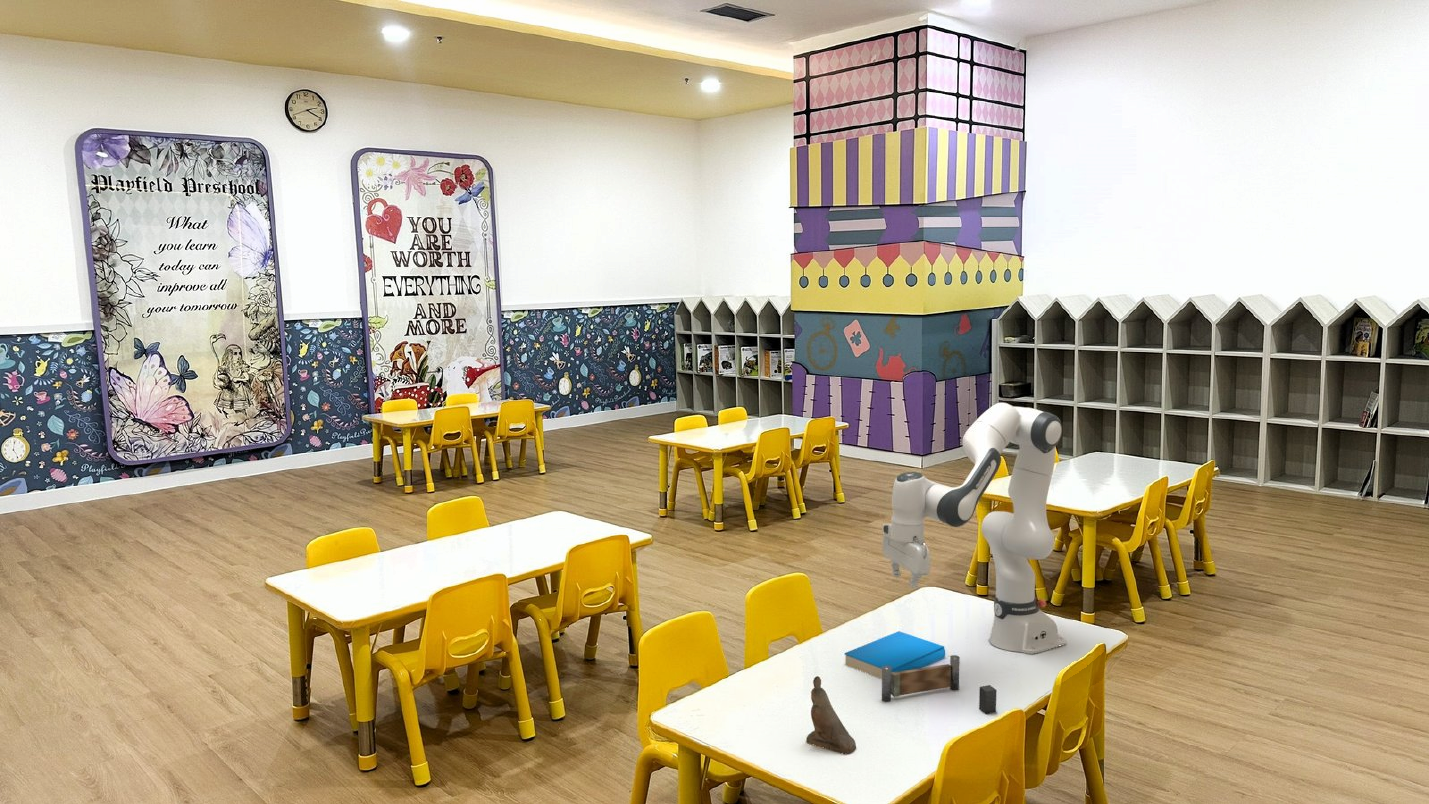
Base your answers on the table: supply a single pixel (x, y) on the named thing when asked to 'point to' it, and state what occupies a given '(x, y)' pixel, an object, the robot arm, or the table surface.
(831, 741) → the worn brown figurine
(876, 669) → the book
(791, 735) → the table surface
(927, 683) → the gate
